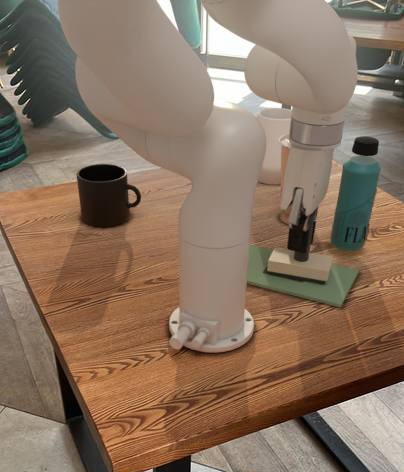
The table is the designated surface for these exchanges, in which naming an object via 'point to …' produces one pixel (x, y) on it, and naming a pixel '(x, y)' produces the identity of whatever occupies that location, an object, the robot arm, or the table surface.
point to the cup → (273, 142)
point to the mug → (105, 195)
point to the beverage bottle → (356, 196)
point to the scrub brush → (300, 262)
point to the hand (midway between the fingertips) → (299, 245)
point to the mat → (324, 293)
